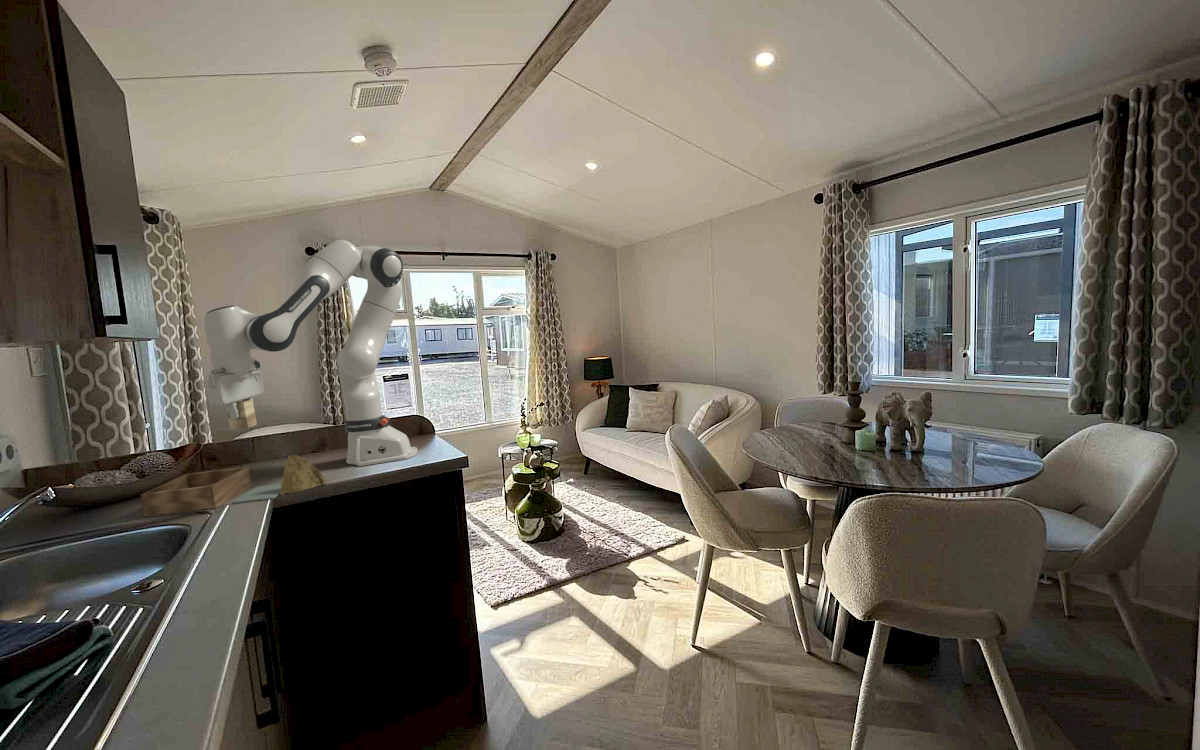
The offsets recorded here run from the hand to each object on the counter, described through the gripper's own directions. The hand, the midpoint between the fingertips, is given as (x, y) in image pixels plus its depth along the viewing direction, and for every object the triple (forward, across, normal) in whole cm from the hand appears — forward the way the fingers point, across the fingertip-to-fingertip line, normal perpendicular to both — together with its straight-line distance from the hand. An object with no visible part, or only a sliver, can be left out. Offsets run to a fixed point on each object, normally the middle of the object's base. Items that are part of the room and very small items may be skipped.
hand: (242, 416), depth 138 cm
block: (+3, 0, 0) cm, 3 cm away
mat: (+22, -1, -2) cm, 22 cm away
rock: (+23, 0, -13) cm, 26 cm away
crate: (+22, -1, +14) cm, 26 cm away
